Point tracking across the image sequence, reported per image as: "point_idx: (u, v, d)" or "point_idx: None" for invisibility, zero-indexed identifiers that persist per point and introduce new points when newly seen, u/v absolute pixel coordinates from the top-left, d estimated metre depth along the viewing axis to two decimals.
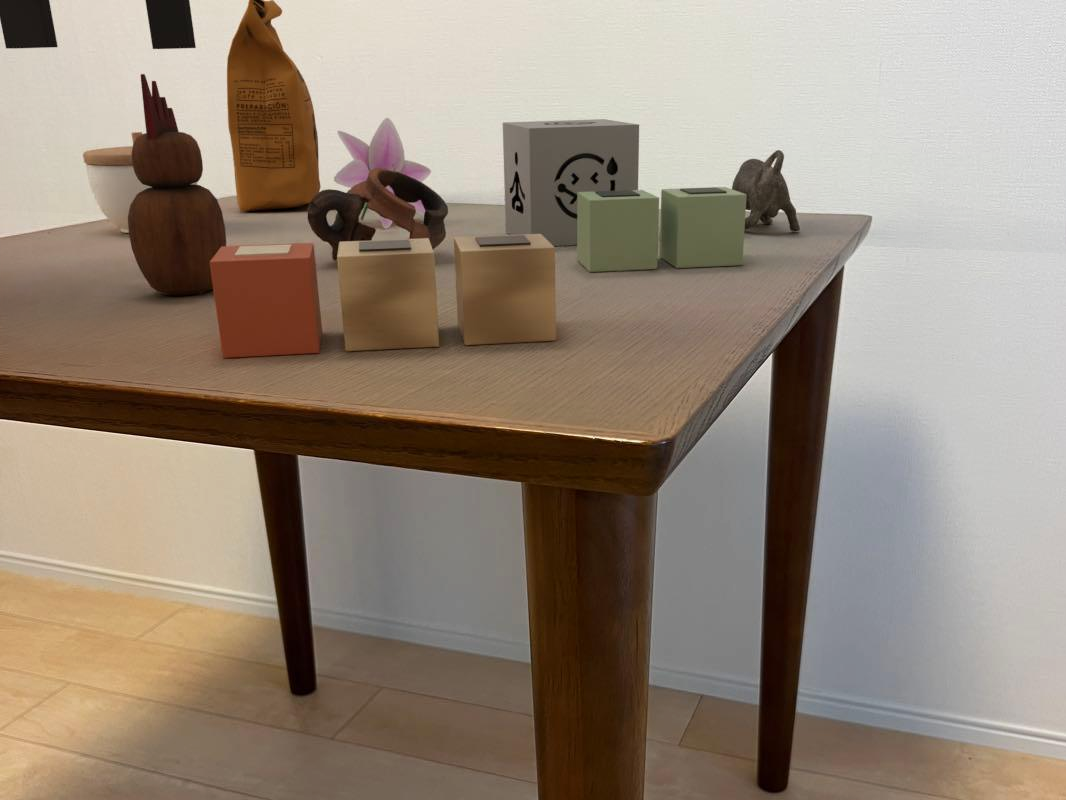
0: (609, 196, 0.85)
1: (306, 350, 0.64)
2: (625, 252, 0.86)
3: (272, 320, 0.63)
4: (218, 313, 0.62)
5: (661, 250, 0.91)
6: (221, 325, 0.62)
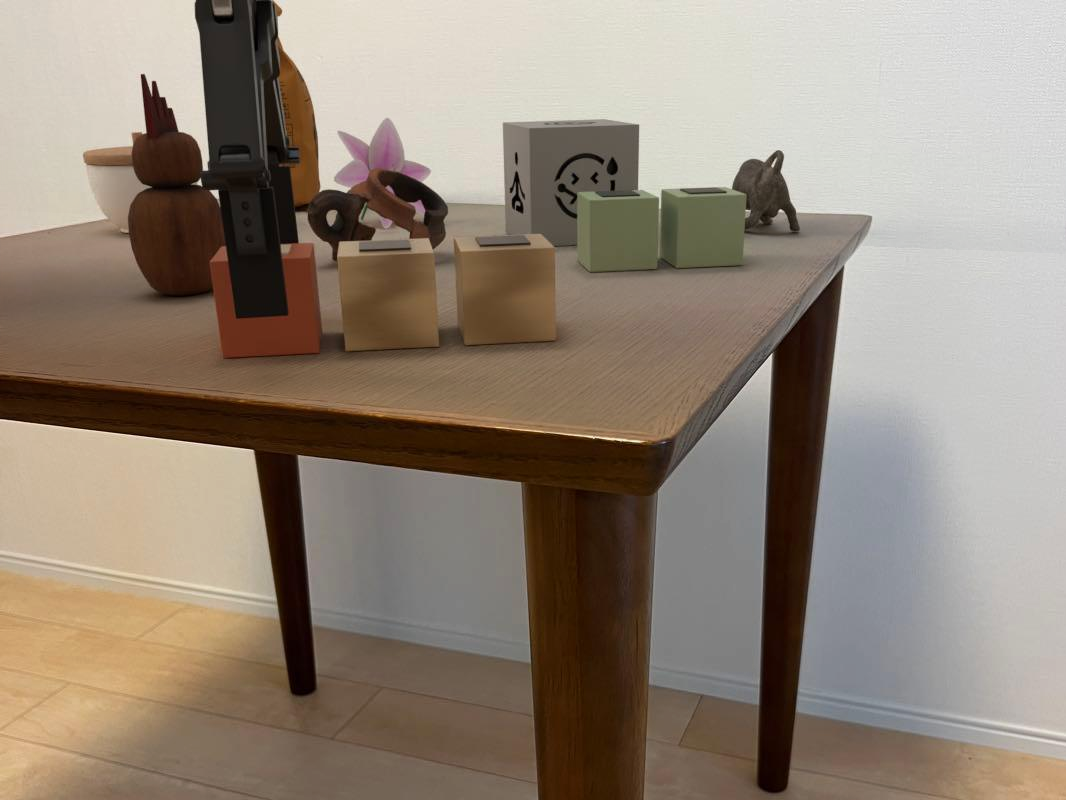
0: (609, 196, 0.85)
1: (306, 350, 0.64)
2: (625, 252, 0.86)
3: (272, 320, 0.63)
4: (218, 313, 0.62)
5: (661, 250, 0.91)
6: (221, 325, 0.62)
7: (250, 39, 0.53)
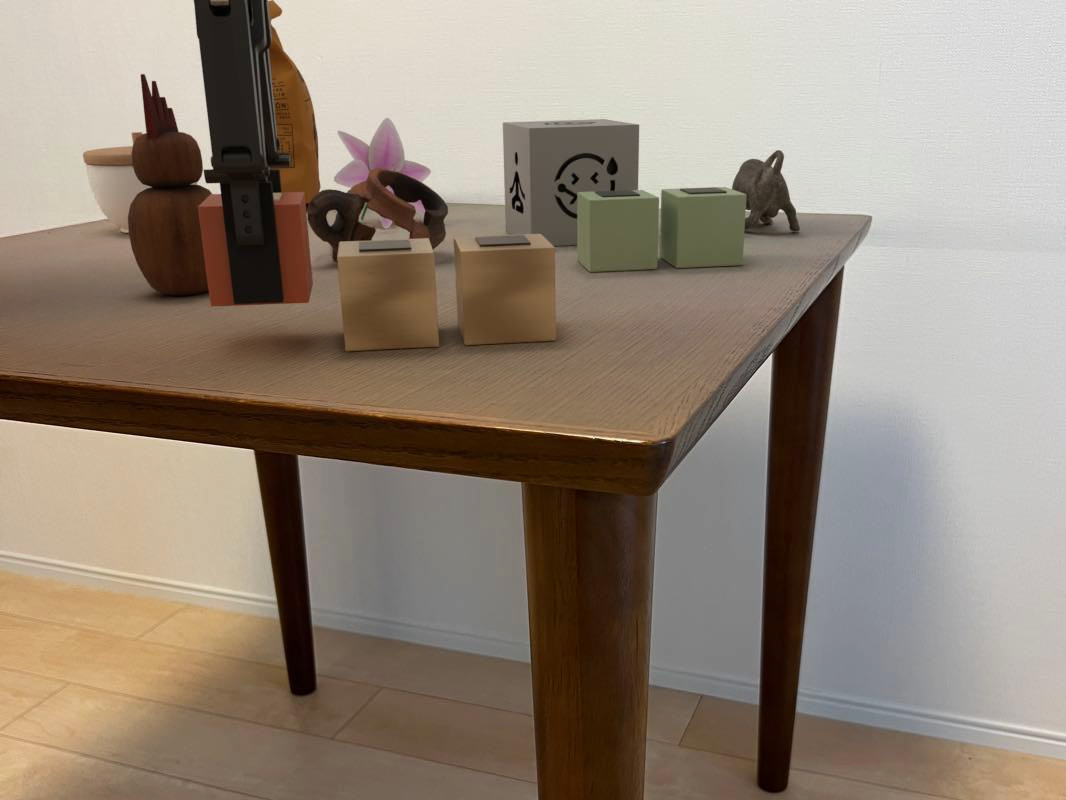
0: (609, 196, 0.85)
1: (296, 300, 0.63)
2: (625, 252, 0.86)
3: None
4: (206, 260, 0.61)
5: (661, 250, 0.91)
6: (209, 272, 0.61)
7: (247, 33, 0.54)
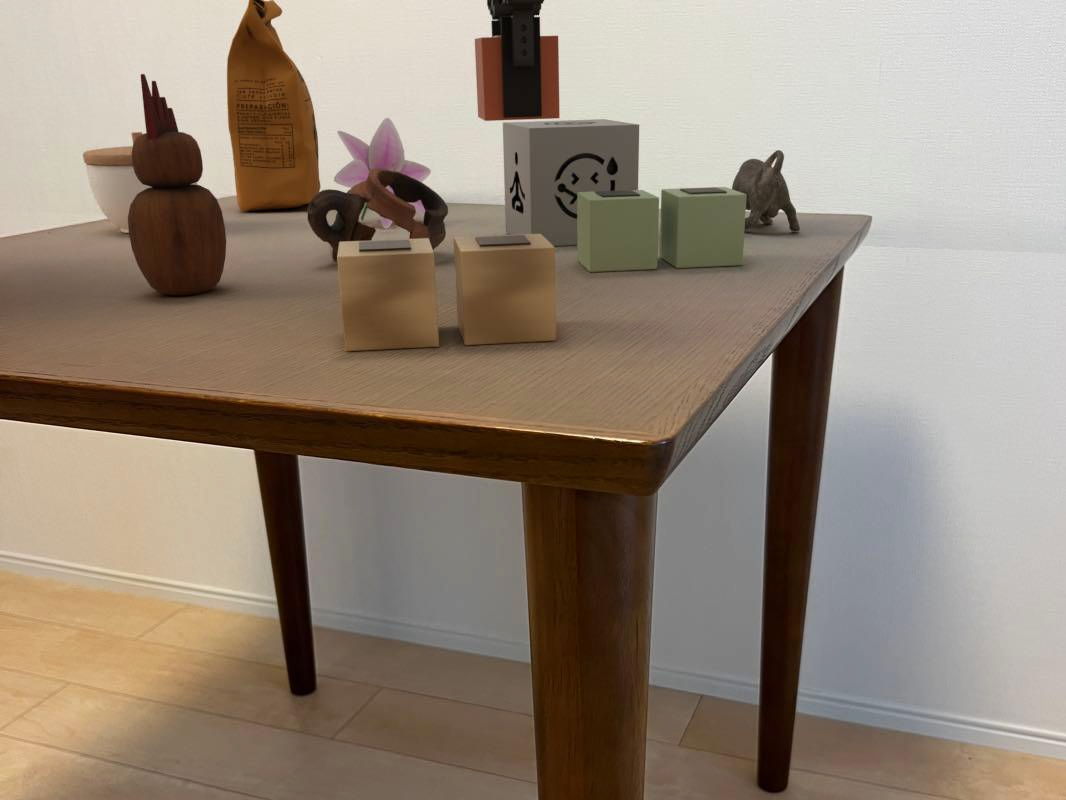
0: (609, 196, 0.85)
1: (550, 115, 0.80)
2: (625, 252, 0.86)
3: None
4: (484, 82, 0.78)
5: (661, 250, 0.91)
6: (486, 92, 0.78)
7: None
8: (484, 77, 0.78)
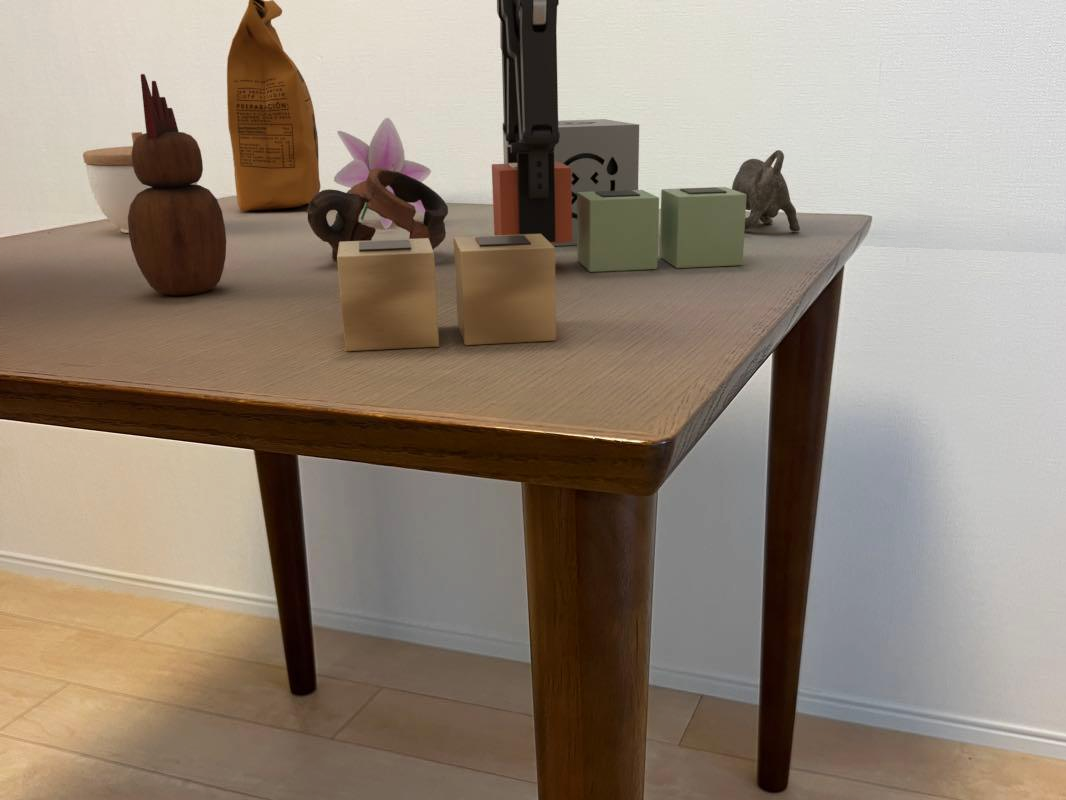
0: (609, 196, 0.85)
1: (563, 239, 0.85)
2: (625, 252, 0.86)
3: None
4: (502, 210, 0.83)
5: (661, 250, 0.91)
6: (503, 219, 0.83)
7: (555, 44, 0.76)
8: (501, 206, 0.83)
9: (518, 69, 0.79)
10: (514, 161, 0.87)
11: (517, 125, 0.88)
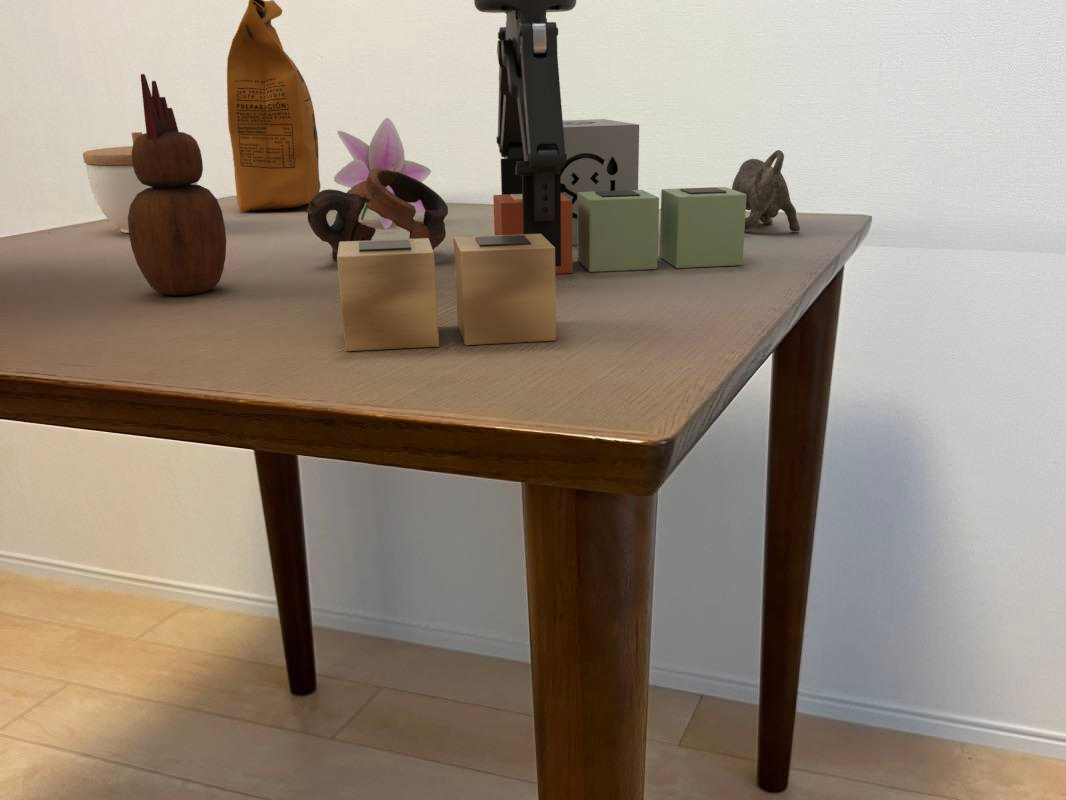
0: (609, 196, 0.85)
1: (563, 271, 0.86)
2: (625, 252, 0.86)
3: None
4: None
5: (661, 250, 0.91)
6: None
7: (557, 70, 0.75)
8: None
9: (520, 99, 0.78)
10: (507, 172, 0.91)
11: None
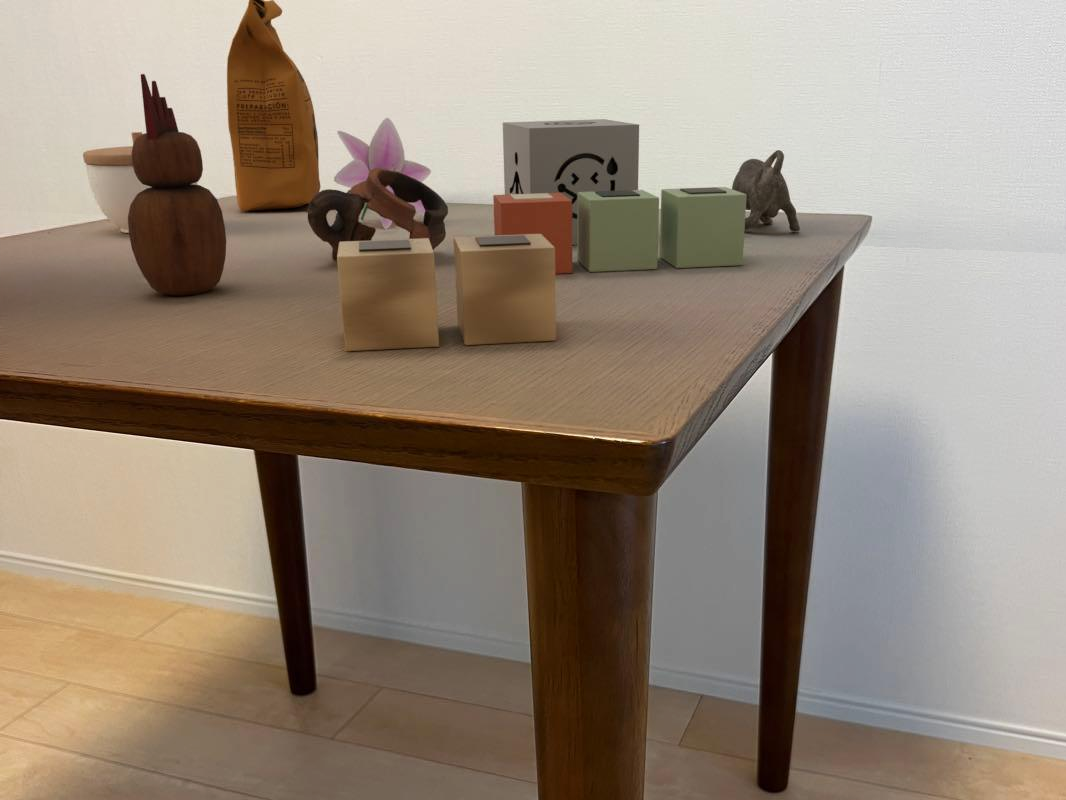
0: (609, 196, 0.85)
1: (563, 271, 0.86)
2: (625, 252, 0.86)
3: None
4: None
5: (661, 250, 0.91)
6: None
7: None
8: None
9: None
10: None
11: None
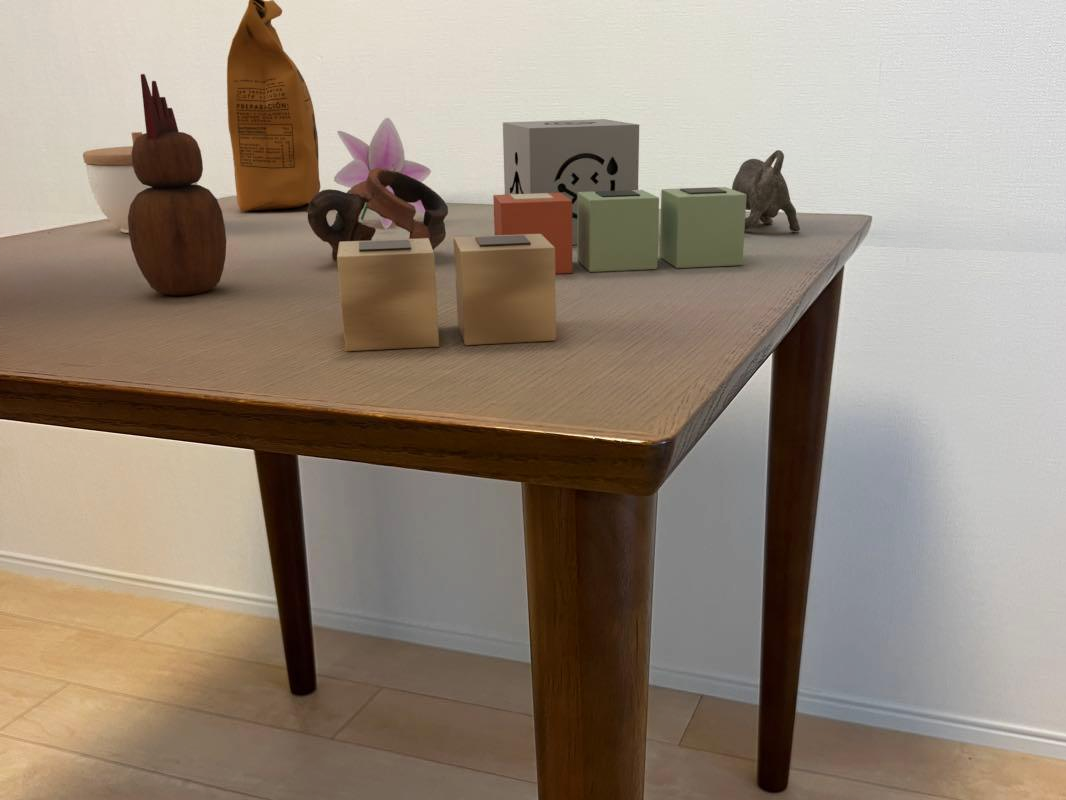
0: (609, 196, 0.85)
1: (563, 271, 0.86)
2: (625, 252, 0.86)
3: None
4: None
5: (661, 250, 0.91)
6: None
7: None
8: None
9: None
10: None
11: None
